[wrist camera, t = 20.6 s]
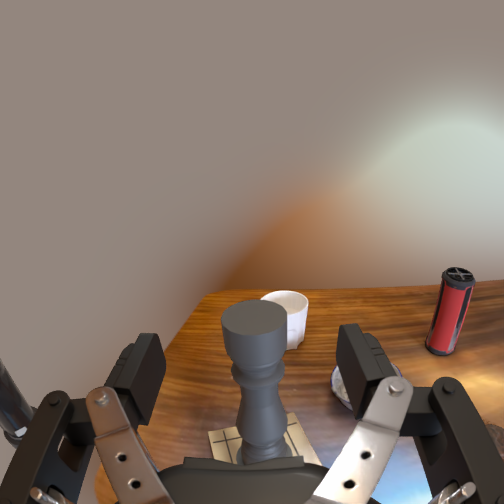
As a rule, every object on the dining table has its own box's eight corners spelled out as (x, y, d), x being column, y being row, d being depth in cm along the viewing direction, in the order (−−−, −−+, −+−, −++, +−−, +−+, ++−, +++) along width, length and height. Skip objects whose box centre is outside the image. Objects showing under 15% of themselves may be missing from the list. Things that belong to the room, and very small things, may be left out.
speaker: (422, 335, 56) (439, 264, 50) (450, 336, 54) (469, 266, 47) (427, 356, 49) (448, 280, 43) (457, 356, 47) (481, 282, 41)
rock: (502, 421, 28) (508, 411, 27) (521, 467, 17) (529, 458, 16) (456, 434, 30) (463, 425, 29) (472, 488, 19) (481, 480, 18)
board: (228, 509, 26) (226, 506, 25) (209, 436, 38) (207, 431, 38) (327, 481, 29) (329, 477, 28) (293, 416, 41) (293, 411, 41)
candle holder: (283, 438, 36) (284, 295, 27) (289, 471, 30) (297, 332, 21) (241, 442, 36) (218, 301, 27) (243, 476, 30) (216, 340, 21)
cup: (252, 346, 61) (249, 307, 57) (275, 323, 68) (274, 287, 65) (294, 359, 55) (295, 320, 52) (313, 333, 63) (315, 296, 60)
